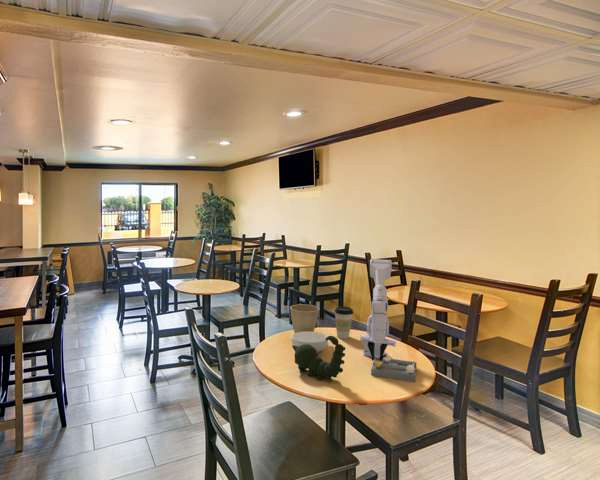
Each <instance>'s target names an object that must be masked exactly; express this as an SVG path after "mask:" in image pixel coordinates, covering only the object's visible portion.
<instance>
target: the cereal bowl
mask: <svg viewBox="0 0 600 480" xmlns="http://www.w3.org/2000/svg"><path fill="white" fill-rule="evenodd" d="M328 336H329V335H326V334H325V333H322V332H318V331H314V332H309V331H307V332H298V333H295V332H294V333H293V334H292V335H291V344H292V345H295V346H301V345H303V344H309V345H311V346H313V347H314V348H315V349H316V351H317V353H319V352H321V351H323V350H325V349H326V347H327V346H328V343H329V342H328V341H329V340H325V339H326V337H328Z"/></svg>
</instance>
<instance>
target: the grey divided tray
mask: <svg viewBox="0 0 600 480" xmlns="http://www.w3.org/2000/svg"><path fill="white" fill-rule="evenodd" d="M379 359H380V357H377V356H375V357H374V361H373V362H372V366H371V368H370V375H371V376H374V377H381V378H386V379H392V380H398V381H405V382H412V383H415V382H416V373H417V361H410V360H403V359H402V360H401V359H394V358H391V362H390V363H389V364H385V363H383V362H382V361H381V362H382V367H381V368H376V367H375V365H374V363H375V361H376V360H379ZM408 365H412V366H413V367H414V372H413V373H408V372H407V371H406V367H407V366H408Z"/></svg>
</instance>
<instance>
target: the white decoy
mask: <svg viewBox="0 0 600 480" xmlns="http://www.w3.org/2000/svg"><path fill="white" fill-rule="evenodd" d="M406 371H407V372H408V373H413V372H414V367H413V366H412V365H408V366H407V367H406Z"/></svg>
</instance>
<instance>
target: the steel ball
mask: <svg viewBox="0 0 600 480" xmlns="http://www.w3.org/2000/svg"><path fill="white" fill-rule="evenodd" d="M391 359H392V358H391V356H390V355H389V354H387V353H386V354H385V355H383V356H382V360H381V361H382V362H383V363H385V364H389V363H390V362H391Z"/></svg>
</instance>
